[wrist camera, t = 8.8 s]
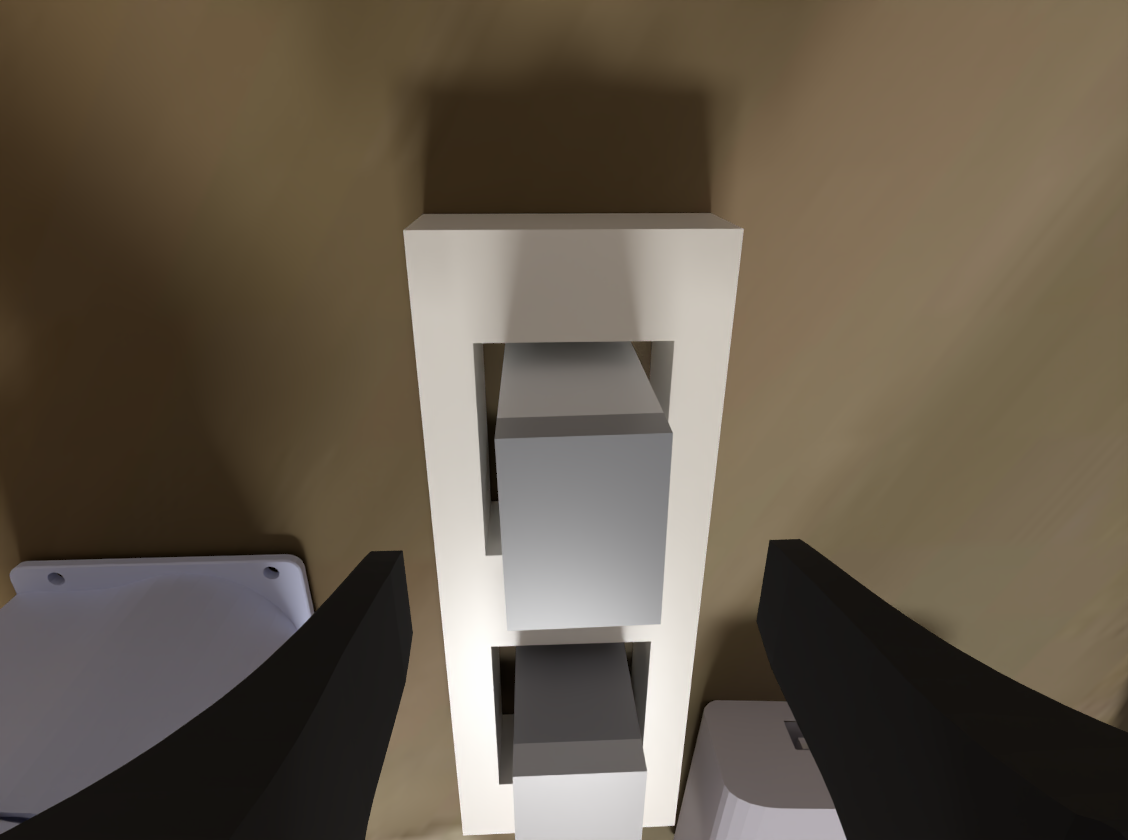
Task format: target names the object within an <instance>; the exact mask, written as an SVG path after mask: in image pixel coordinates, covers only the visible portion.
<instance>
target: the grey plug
mask: <svg viewBox="0 0 1128 840" xmlns="http://www.w3.org/2000/svg"><path fill="white" fill-rule="evenodd" d="M672 442H673V432H672V430H671V427H670V425H669V423H668V421H667V419H666V417H665V414H664V412H663V410H662V408H661V406H660V404H659V402H658V399H657V397H656V395H655V393H654V391H653V389H652V386H651V384H650V382H649V380H648V378H647V376H646V373H645V371H644V369H643V367H642V365H641V363H640V361H639V358H638V356H637V354H636V352H635V350H634V348H633V345H632V343H631V341H615V342H533V343H505V351H504V360H503V369H502V378H501V386H500V395H499V404H498V413H497V422H496V431H495V453H496V468H497V483H498V498H499V514H500V529H501V544H502V559H503V574H504V589H505V604H506V619H507V631H521V630H543V629H565V628H587V627H610V626H632V625H654V624H661V613H662V597H663V582H664V566H665V551H666V535H667V520H668V504H669V488H670V473H671V457H672Z"/></svg>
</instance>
